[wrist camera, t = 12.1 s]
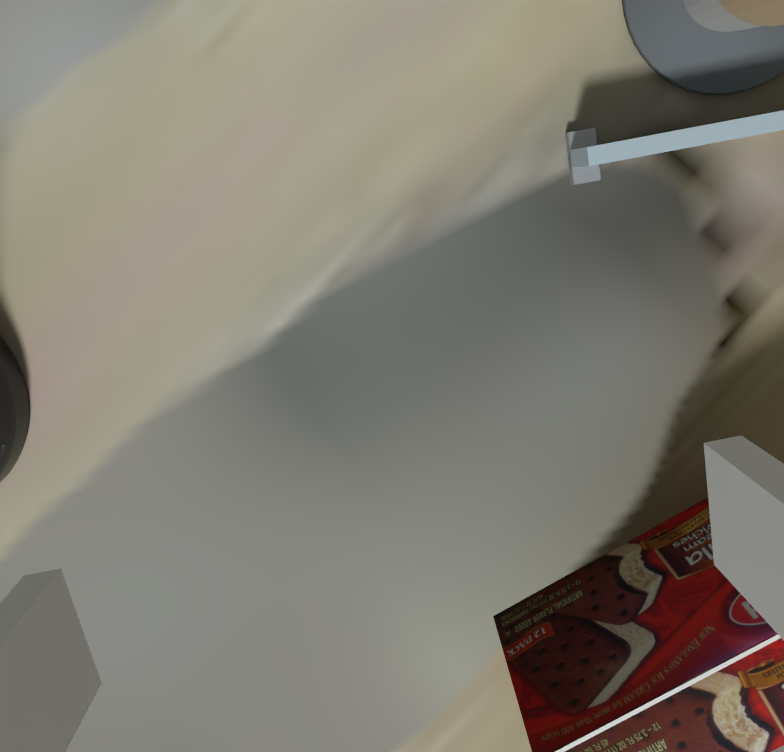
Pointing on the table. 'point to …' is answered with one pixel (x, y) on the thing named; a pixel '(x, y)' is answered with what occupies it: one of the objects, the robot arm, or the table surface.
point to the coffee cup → (735, 13)
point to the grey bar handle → (658, 142)
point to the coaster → (702, 48)
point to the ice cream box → (647, 653)
